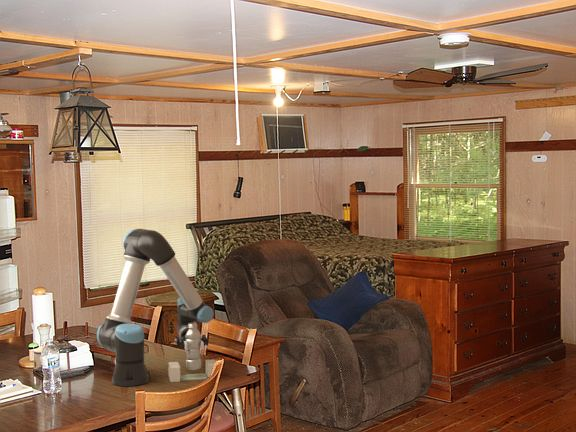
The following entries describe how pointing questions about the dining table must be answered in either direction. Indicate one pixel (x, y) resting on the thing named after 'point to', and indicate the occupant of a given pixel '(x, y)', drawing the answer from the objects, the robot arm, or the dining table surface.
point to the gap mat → (193, 377)
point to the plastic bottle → (193, 347)
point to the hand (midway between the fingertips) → (194, 346)
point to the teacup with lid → (37, 357)
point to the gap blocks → (175, 370)
